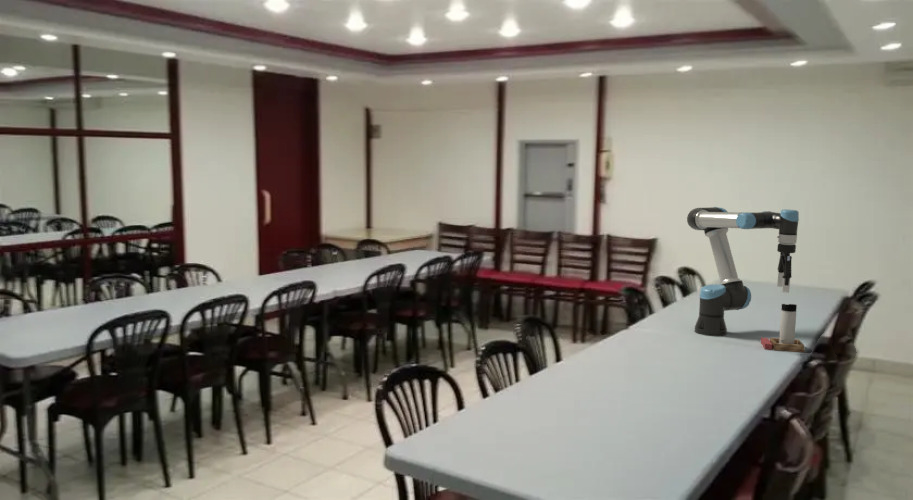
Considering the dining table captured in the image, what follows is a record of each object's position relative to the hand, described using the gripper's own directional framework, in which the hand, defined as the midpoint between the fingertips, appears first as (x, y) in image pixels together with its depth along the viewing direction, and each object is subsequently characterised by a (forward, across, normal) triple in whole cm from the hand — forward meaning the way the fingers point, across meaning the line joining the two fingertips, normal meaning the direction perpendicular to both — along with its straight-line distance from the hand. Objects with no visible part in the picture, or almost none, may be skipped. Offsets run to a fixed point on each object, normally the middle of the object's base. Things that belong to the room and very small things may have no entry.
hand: (782, 289), depth 327 cm
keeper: (+26, +6, +3) cm, 27 cm away
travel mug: (+25, +6, +3) cm, 26 cm away
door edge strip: (+26, +5, -6) cm, 27 cm away
